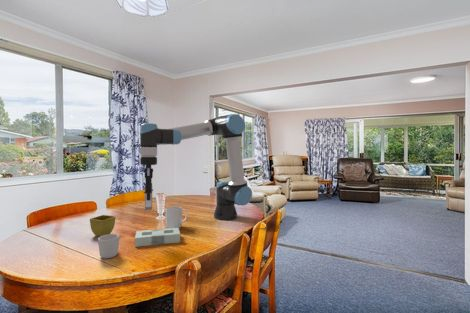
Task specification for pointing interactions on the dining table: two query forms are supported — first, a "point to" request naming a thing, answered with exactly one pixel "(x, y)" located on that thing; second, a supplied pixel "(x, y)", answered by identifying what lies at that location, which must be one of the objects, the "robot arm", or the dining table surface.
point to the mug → (174, 217)
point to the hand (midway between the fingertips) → (148, 205)
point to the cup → (108, 245)
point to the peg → (148, 207)
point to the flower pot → (102, 224)
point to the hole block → (157, 237)
